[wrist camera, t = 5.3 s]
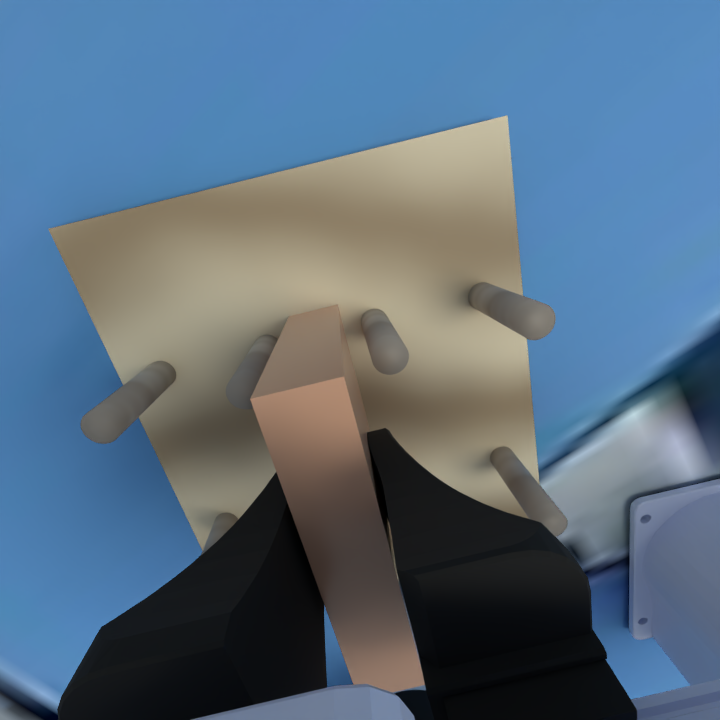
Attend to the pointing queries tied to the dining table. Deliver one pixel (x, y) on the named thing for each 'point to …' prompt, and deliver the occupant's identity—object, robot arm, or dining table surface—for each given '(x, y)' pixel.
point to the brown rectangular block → (337, 495)
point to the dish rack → (319, 290)
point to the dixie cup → (416, 702)
